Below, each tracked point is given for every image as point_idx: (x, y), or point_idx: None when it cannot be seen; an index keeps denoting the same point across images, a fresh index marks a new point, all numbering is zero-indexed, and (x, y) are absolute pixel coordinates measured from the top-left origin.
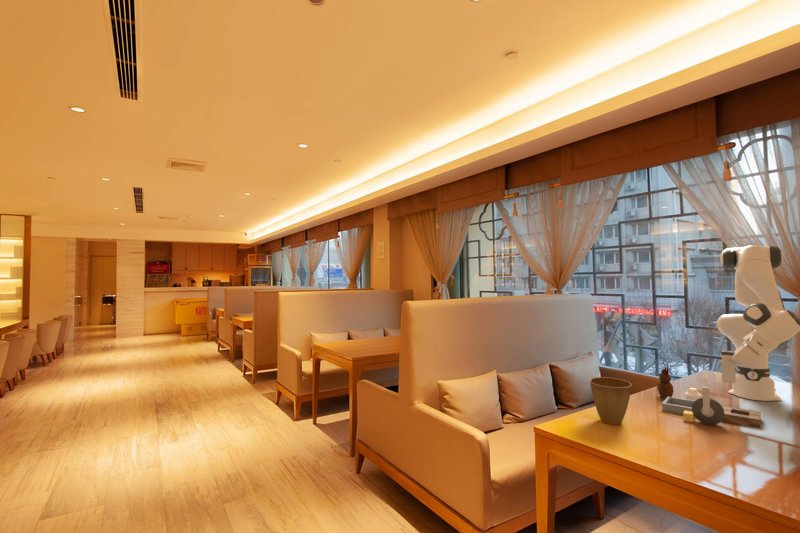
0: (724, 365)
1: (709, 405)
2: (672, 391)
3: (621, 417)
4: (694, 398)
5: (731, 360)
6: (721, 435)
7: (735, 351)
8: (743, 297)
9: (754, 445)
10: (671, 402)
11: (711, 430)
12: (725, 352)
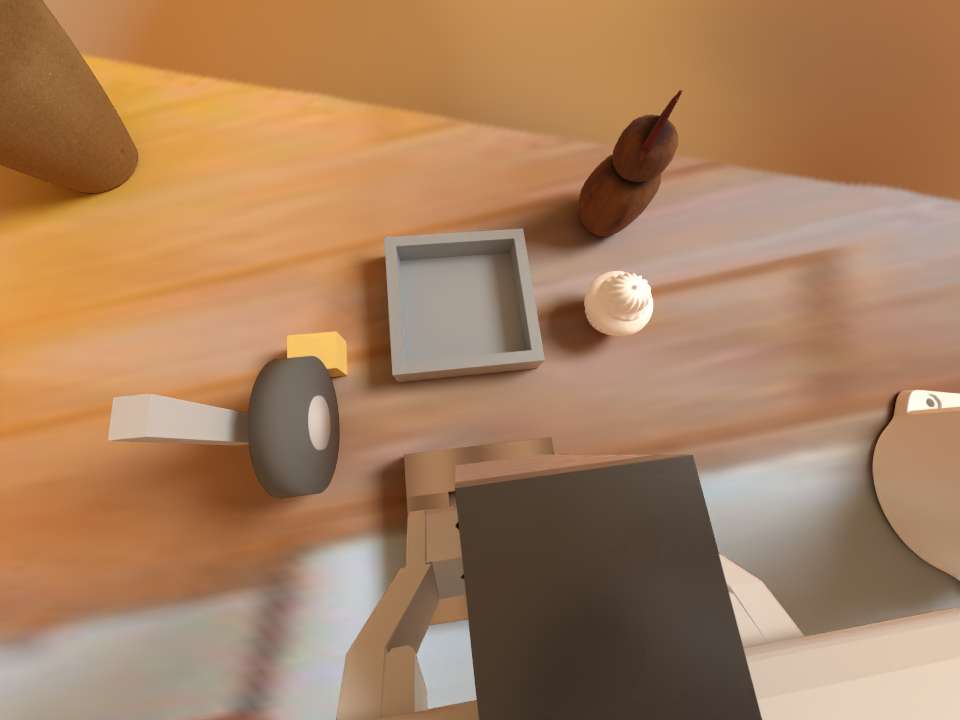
0: (411, 512)
1: (210, 443)
2: (609, 224)
3: (36, 177)
4: (589, 316)
5: (352, 660)
6: (184, 505)
7: (870, 715)
8: None
9: (122, 642)
10: (511, 255)
11: (232, 459)
12: (466, 577)
